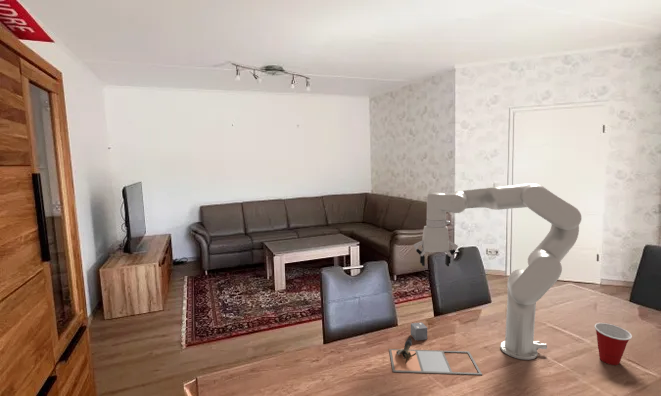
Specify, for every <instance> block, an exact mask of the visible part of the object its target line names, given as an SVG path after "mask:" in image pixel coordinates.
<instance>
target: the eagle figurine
mask: <svg viewBox="0 0 661 396" xmlns="http://www.w3.org/2000/svg"><path fill="white" fill-rule="evenodd" d="M412 345H413V340H412V338H411V337H408V339H407V340H406V341H405V343H404V348H400V350H398V351H397V355H400V354H402V355H403V356H404V358H403V359H406V362H405V364H406V363H407V362H408V360H409V359H410V358H412V356H414V355H416V353H415V354H413V355H411V353H410V352H409V351H408V350H410V347H411V346H412Z"/></svg>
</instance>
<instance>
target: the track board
mask: <svg viewBox="0 0 661 396" xmlns="http://www.w3.org/2000/svg"><path fill="white" fill-rule="evenodd" d="M400 349H401V348H400ZM400 349H399V348H398V349H397V348H396V349H395V348H388V352H389V357H390V362H391V363H390V364H391V369H392V373H402V374H403V373H404V374H406V373H407V374H431V375H432V374H435V375H436V374H438V375H464V376H467V375H468V376H483V374H482V373H483V372H481V370H480V368H479V366H478V364H477V362H476V361H475V359H474V357H473V355H472V354H471V351H469V350H439V349H435V350H432V349H431V350H429V349H409V350H408V351H409V352H410V353H411V355H413V354H415V353H416V355H414V356H412V358H410V359H409V360H408V362H407V363H406V364H405V362H406V359H403V358H404V356H403V355H402V354H400V355H397V351H398V350H400ZM445 353H450V354H456V353H457V354H468V356H469V358H470V360H471V361H472V364H473V365H474V367H475V369H476V371H477V372H460V371H459V372H458V371H452V368H451V366H450V363H449V361H448V358H447V356H446V354H445Z"/></svg>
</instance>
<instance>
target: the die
mask: <svg viewBox="0 0 661 396" xmlns="http://www.w3.org/2000/svg"><path fill="white" fill-rule="evenodd" d="M411 335H412V336H411ZM410 336H411V337H412V338H413V339H414V341H416V340H417V341H425V340H428V327H427V325H425V324H424V323H423V322H422V321H421V322H413V323H410Z"/></svg>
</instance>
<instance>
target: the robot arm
mask: <svg viewBox="0 0 661 396" xmlns="http://www.w3.org/2000/svg"><path fill="white" fill-rule="evenodd" d="M477 208H479V209H481V208H485V209H491V210H498V211H500V210H509V209H520V208H528V209H529V210H530V211H532V212H533V213H535V214H536V215H538V216H539V217H541V218H542V219H544V220H546V221H547V222H548V223H550V224H551V225H550V230H549V231H548V233H547V235H546V236H545V237H544V238H543V240H542V241H541V242H540V243H539V244H538V245H537V247H535V248H534V249H533V251H532V252H531V253H530V254H529V255H528V258H527V264H528V266H527V267H526V268H525V269H523V268H519V269H515V270H513V271H512V272H510V274H509V275H508V279H507V283H506V284H507V286H506V287H507V297H506V298H507V300H506V301H507V302H506V303H507V304H506V316H505V317H506V319H505V336H504V337H505V339H504V340H503V341H501V342H500V347H499V348H500V350H501V351H502V352H503V353H504V354H506V355H507V356H510V357H511V358H515V359H518V360H522V361H523V360H525V361H528V360H529V361H530V360H534V359H535V358H537V357H538V350H540V349H541V350H547V349H548V345H547V343H541V342H540V340H535V338H534V337H535V323H536V309H537V308H536V307H537V302H538V301H539V300H540V299H542V298H543V296H545V295H546V293H547V292H548V291H549V290H550V289H551V288H552V287H553V286H554V284H556V283H557V281H558V280H559V279H560V277H561V275H562V271H563V267H562V264H561V262H562V260H563V259H564V258H565V257H566V256H567V254H568V253H569V251H570V250H571V249H572V248H573V247H574V245H575V244H576V242H577V240H578V238H579V232H580V225H581V222H582V214H581V212H580V210H579V209H578V208H577V207H575V206H574V205H572V204H571V203H569V202H568V201H566V200H564V199H563V198H561V197H559V196H558V195H556V194H554V193H553V192H552V191H550V190H549V189H548V188H546V187H545V186H543V185H542V184H539V183H535V182H534V183H532V182H531V183H519V184H514V185H502V186H494V187H493V186H492V187H486V188H475V189H465V190H457V191H453V192H451V194H450V193H448V194H446V193H445V192H437V191H436V192H429V193H428V194H427V195H426V221H425V222H426V225H424V226H423V231H422V236H421V237H422V239H421V240H420V241H418V242H416V243H413V248H414V250H415V252H416V253H417V254H419V263H420V264H421V265H422V267H424V266H425V264H426V263H425V260H426V258H425V255H426V253H428V252H429V253H446V254H445V258H444V259H445V261H444V262H445V265H446V267H450V264H451V257H452V256H453V255H454V254H455V253H456V251H457V249H458V247H459V246H458V244H457V243H455V242H452V241H451V240H450V236H449V229H448V225H450V224H451V221H450V220H447V213H448V212H449V213H452V214H460V213H463V212H464V211H465V210H466V209H477ZM420 246H421V248H422V249H421V250H420V249H419V247H420ZM450 246H452V248H451V249H450Z"/></svg>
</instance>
